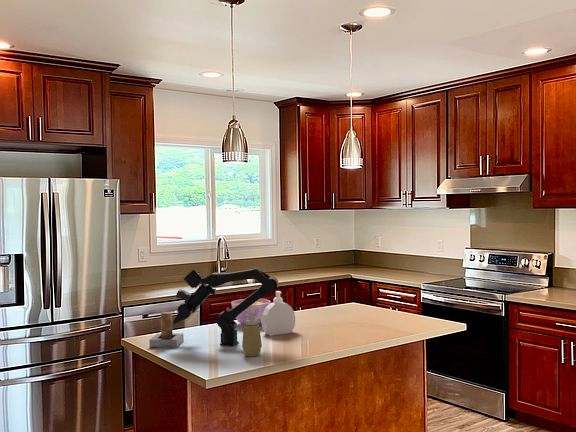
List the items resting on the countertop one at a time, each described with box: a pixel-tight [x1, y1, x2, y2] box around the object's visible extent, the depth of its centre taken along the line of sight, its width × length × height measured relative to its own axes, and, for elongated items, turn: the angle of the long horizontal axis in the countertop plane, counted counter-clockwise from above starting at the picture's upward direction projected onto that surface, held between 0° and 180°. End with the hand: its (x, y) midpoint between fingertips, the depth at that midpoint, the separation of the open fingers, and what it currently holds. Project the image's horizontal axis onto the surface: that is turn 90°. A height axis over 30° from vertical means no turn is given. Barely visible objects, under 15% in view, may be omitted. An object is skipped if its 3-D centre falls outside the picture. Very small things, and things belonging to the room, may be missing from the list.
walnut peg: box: [160, 311, 173, 338], centre depth 260 cm, size 5×5×14 cm
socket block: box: [148, 332, 185, 349], centre depth 260 cm, size 12×12×4 cm
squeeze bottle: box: [241, 311, 263, 358], centre depth 239 cm, size 8×8×18 cm
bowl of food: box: [231, 298, 272, 326], centre depth 299 cm, size 20×20×12 cm
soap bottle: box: [260, 290, 296, 337], centre depth 277 cm, size 16×5×20 cm, turn 119°
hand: (176, 321), depth 260 cm, fingers open, 9 cm apart
